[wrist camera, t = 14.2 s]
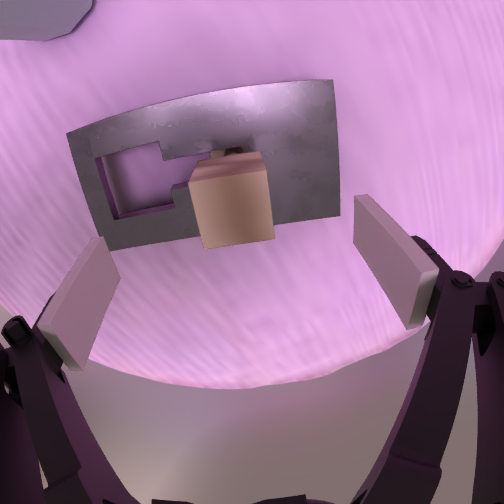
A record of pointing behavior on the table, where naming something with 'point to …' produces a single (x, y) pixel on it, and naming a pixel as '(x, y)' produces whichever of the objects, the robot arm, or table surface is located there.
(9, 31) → the water bottle
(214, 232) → the peg
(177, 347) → the table surface
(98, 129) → the keyhole plate
